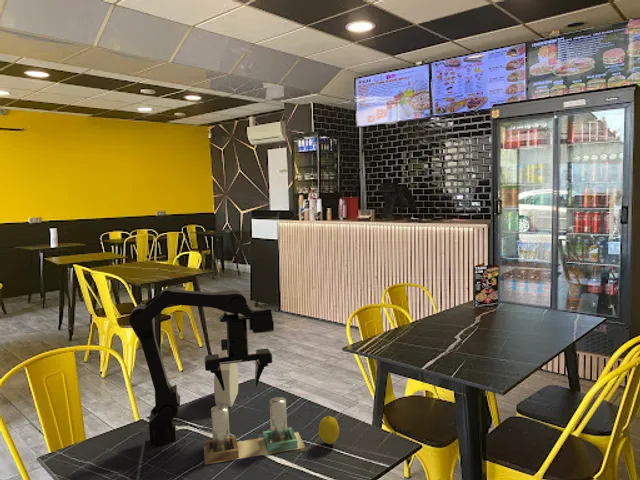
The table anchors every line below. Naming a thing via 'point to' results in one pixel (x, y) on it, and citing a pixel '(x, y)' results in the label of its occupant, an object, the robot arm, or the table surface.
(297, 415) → the table surface
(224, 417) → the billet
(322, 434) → the lemon
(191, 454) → the table surface
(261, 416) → the table surface
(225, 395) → the soap bottle
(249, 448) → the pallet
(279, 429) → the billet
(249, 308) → the robot arm
